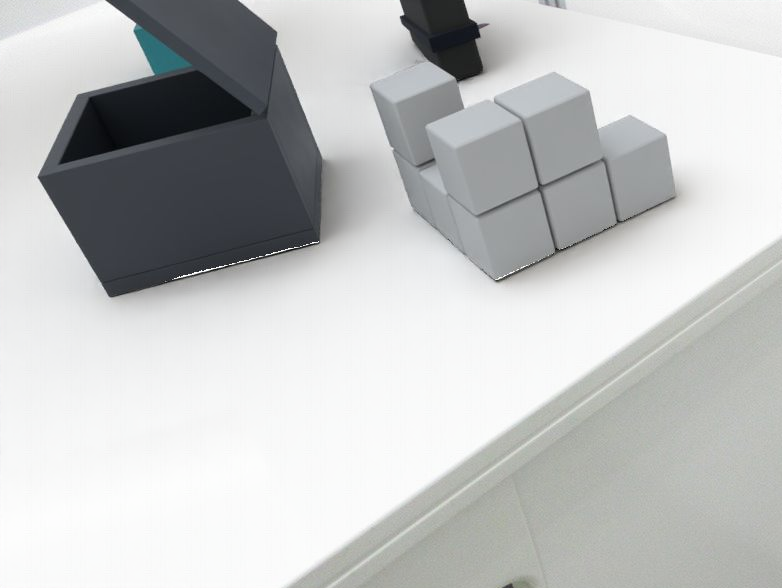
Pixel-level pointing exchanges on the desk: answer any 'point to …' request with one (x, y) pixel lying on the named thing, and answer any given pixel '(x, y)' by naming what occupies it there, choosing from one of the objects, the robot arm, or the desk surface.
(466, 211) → the puzzle cube
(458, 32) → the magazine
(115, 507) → the desk surface
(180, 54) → the compartment lid
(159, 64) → the teal cube
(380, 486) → the desk surface
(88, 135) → the compartment
